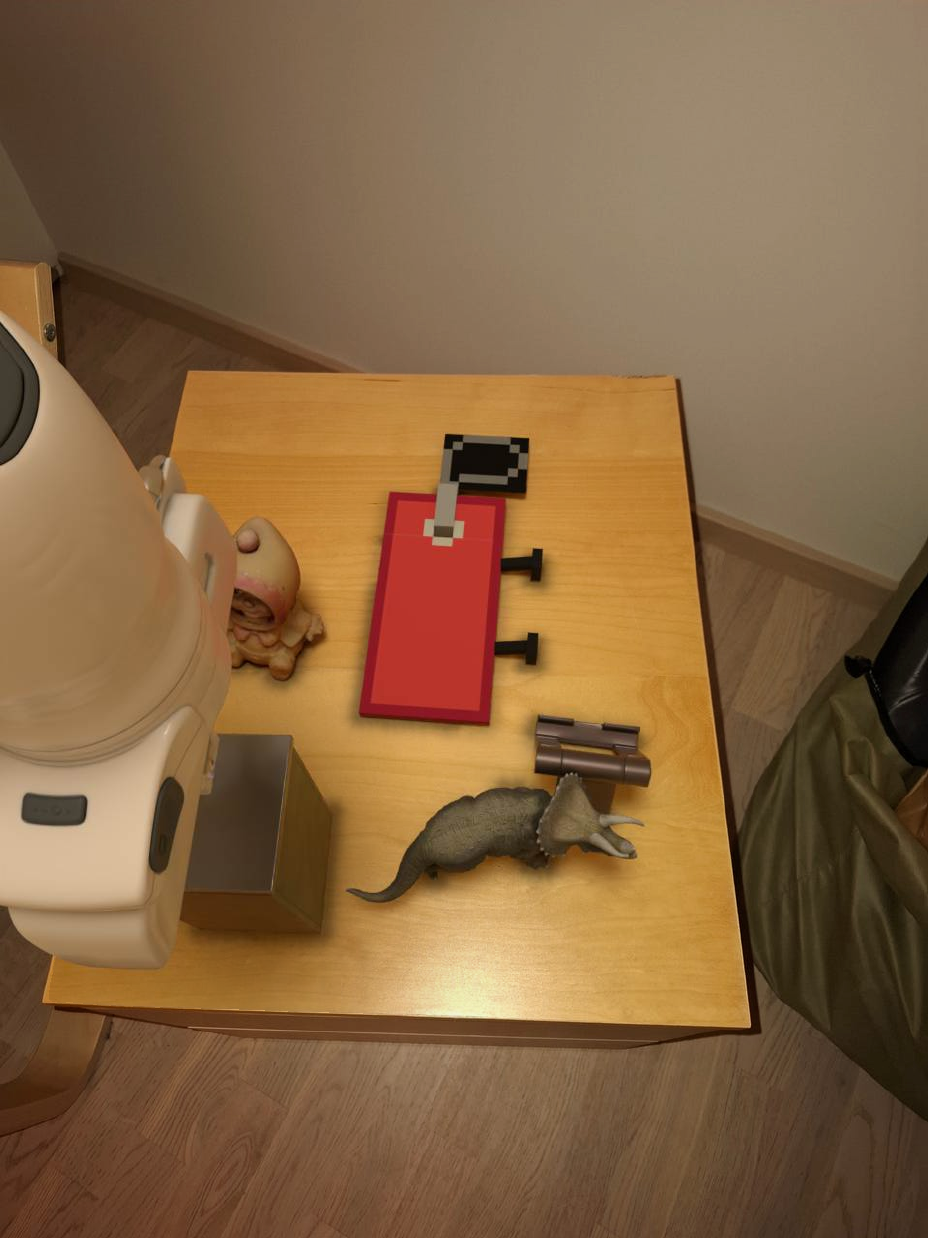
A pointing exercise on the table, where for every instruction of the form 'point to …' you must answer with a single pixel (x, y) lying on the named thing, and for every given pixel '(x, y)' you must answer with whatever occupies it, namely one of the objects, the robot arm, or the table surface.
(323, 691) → the table surface
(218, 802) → the trash can lid
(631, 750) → the tablet stand
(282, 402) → the table surface
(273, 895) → the trash can
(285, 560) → the figurine
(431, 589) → the red board with handle
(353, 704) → the table surface
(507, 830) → the toy dinosaur
